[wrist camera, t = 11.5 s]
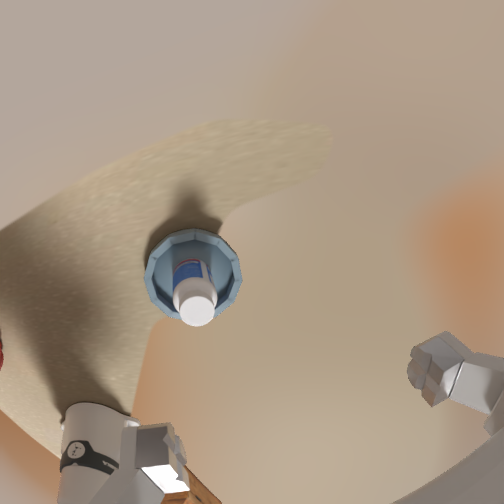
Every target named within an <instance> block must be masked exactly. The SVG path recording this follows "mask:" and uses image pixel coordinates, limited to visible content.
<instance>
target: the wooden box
mask: <svg viewBox="0 0 504 504" xmlns="http://www.w3.org/2000/svg"><path fill="white" fill-rule="evenodd" d="M184 468H185V470H186V471H187V473H188V477H189V485H190V490H188V491H182V492H174V493H166V494H165V496H164V498H163V500H162V502H161V504H222V503H221V501H220V500H219V499H218V498H217V497H215V496H214V495H213V494H212V493H211V492H210V491H209V490H208V489H207V488H206V487H205V486H204V485H203V484H202V483H201V482H200V481H199V480H198V479H197V477H196V476H195V475H194V474H193V473H192V472H191V471H190V470H189V469H188V468H187V467H186V466H185V465H184Z"/></svg>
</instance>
